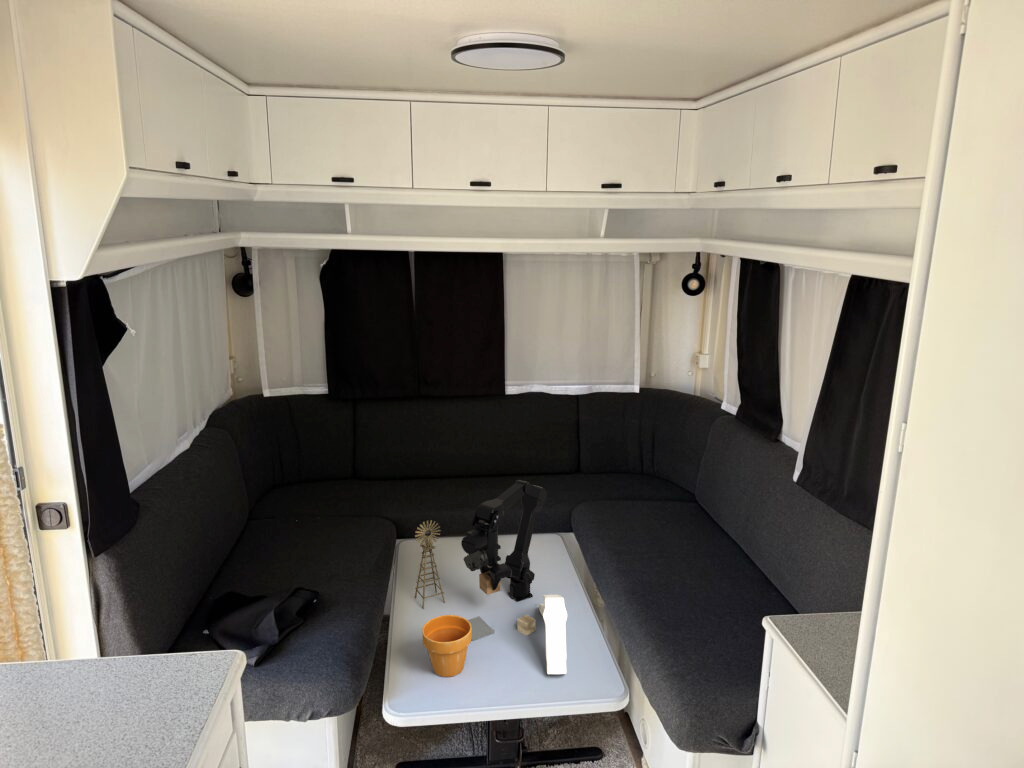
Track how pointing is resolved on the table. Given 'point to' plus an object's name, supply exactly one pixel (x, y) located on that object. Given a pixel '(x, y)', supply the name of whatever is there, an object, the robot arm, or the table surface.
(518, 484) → the robot arm
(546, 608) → the white elongated block
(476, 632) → the plate
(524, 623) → the maple cube
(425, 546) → the miniature windmill
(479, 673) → the table surface
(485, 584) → the walnut cube
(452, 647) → the flower pot
